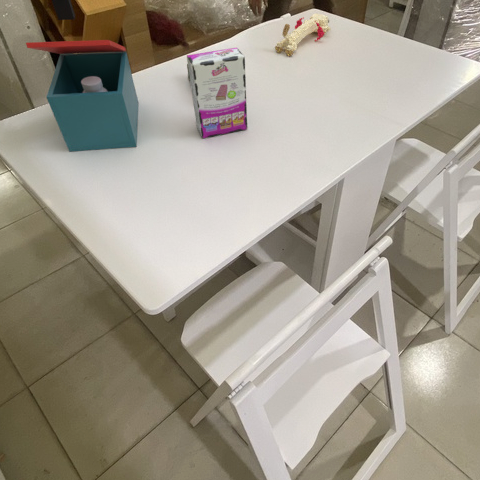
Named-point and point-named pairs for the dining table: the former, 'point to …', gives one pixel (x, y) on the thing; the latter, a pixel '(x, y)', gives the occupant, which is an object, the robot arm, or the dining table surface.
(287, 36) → the fuzzy plush toy
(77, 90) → the teal open box
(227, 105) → the candy bar box
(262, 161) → the dining table surface
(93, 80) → the supplement bottle
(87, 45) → the lid
